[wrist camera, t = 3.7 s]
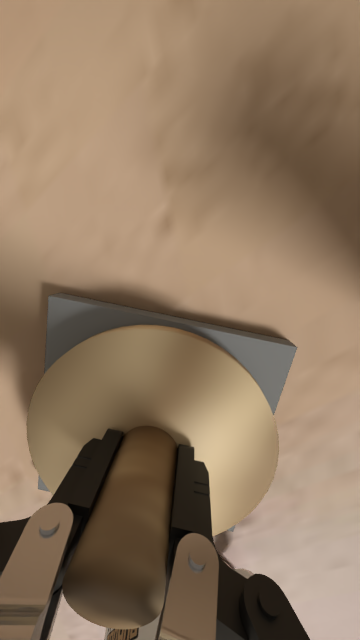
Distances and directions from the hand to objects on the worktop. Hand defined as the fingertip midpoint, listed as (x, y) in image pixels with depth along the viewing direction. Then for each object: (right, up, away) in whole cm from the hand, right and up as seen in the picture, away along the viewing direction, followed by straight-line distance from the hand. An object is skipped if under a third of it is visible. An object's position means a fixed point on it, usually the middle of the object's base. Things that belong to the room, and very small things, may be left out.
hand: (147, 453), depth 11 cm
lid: (0, 0, +1) cm, 1 cm away
